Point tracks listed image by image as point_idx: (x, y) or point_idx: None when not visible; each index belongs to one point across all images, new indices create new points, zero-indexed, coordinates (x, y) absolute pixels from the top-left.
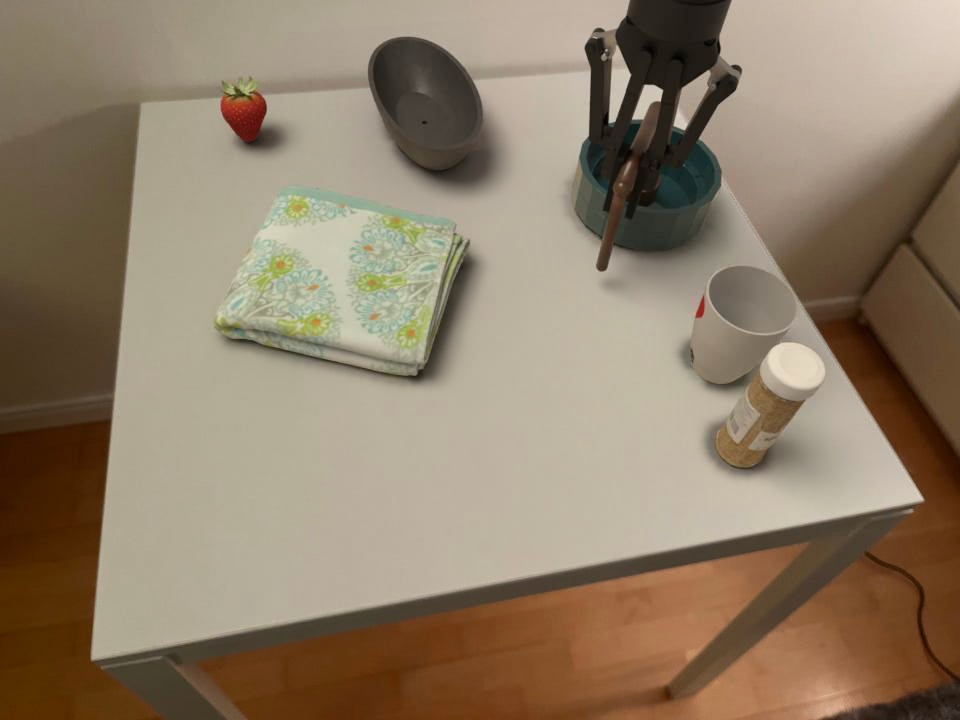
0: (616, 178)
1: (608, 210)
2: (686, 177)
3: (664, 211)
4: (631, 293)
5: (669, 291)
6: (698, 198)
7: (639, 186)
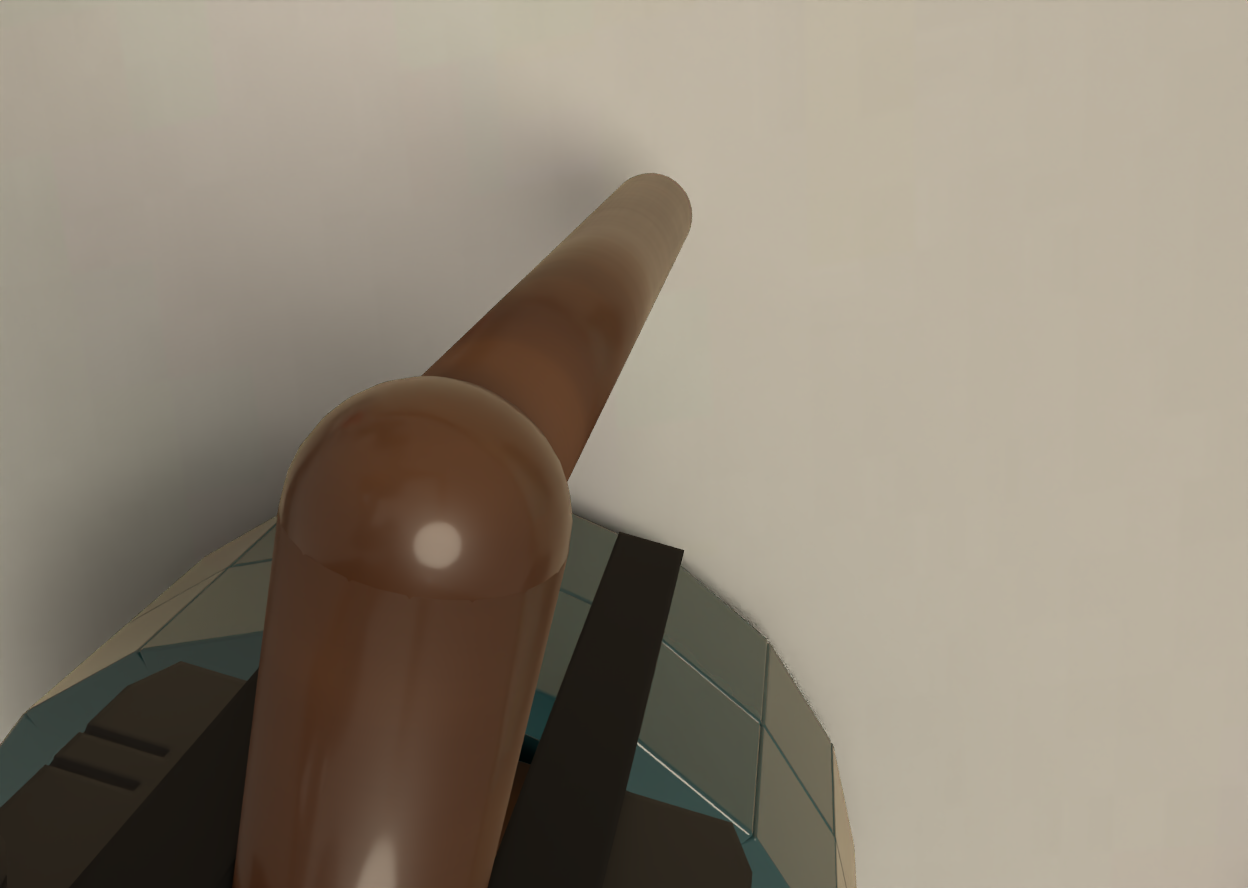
0: (553, 786)
1: (629, 545)
2: None
3: (231, 660)
4: (456, 152)
5: (244, 212)
6: None
7: None
